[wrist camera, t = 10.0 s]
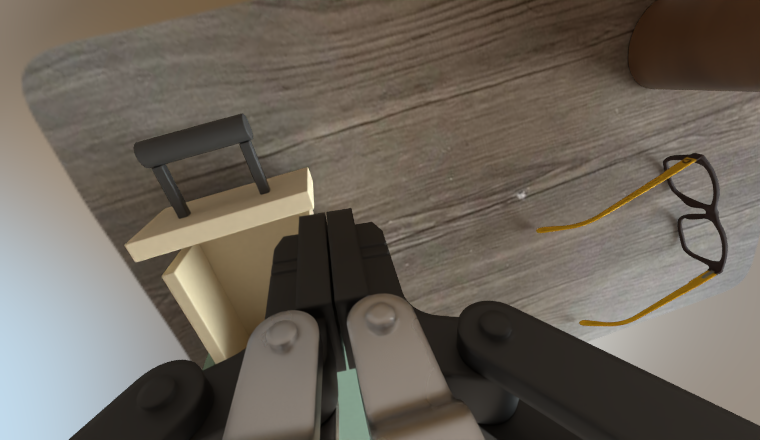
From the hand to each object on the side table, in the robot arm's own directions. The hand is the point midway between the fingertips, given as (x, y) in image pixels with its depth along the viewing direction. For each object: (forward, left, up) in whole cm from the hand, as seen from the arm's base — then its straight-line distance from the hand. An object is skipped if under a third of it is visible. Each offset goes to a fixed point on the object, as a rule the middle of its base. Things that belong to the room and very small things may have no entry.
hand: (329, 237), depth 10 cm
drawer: (-3, -8, -16) cm, 18 cm away
